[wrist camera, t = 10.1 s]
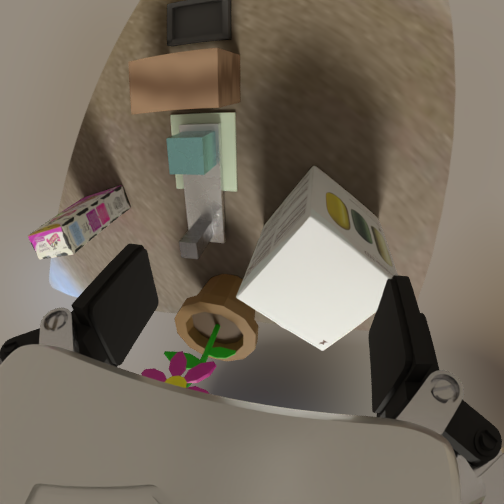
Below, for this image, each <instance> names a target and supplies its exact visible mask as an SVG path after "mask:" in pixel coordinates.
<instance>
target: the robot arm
mask: <svg viewBox="0 0 504 504" xmlns="http://www.w3.org/2000/svg"><path fill="white" fill-rule="evenodd" d="M157 306H158V296H157V292H156V288H155V284H154V280H153V275H152V271H151V267H150V262H149V258H148V253H147V250H146V249H144V247H143V246H142V245H137V244H128V245H127V246H126V247H125V248H124V249H123V250H122V251H121V252H120V253H119V254H118V255H117V256H116V257H115V258H114V259H113V260H112V261H111V262H110V263H109V264H108V265H107V266H106V267H105V269H104V270H103V271H102V272H101V273H100V274H99V275H98V276H97V277H96V278H95V279H94V280H93V281H92V283H91V284H90V285H89V286H88V287H87V288H86V289H85V290H84V291H83V293H82V294H81V295H80V296H79V297H78V298H77V299H76V300H75V302H74V303H73V304H72V307H73V311H72V312H70V311H69V310H68V309H66V308H57V309H54V310H51V311H50V312H48V313H47V314H46V315H45V316H44V317H43V319H42V320H41V325H40V328H39V329H36V330H33V331H31V332H28V333H25V334H22V335H19V336H16V337H13V338H11V339H9V340H7V341H6V342H5V343H4V345H3V346H2V348H1V350H0V504H504V453H503V454H502V452H501V450H500V449H501V444H502V440H501V435H500V433H499V431H498V429H497V428H496V427H495V426H494V425H492V424H491V423H490V422H489V421H488V420H486V419H485V418H484V417H483V416H482V415H480V414H479V413H478V412H477V411H475V410H474V409H473V408H472V407H470V406H469V405H468V404H467V403H466V402H464V401H463V400H462V398H463V395H464V389H463V385H462V383H461V381H460V380H459V378H458V377H457V376H456V375H454V374H453V373H451V372H449V371H445V370H439V367H438V363H437V359H436V354H435V350H434V346H433V342H432V338H431V335H430V331H429V327H428V324H427V321H426V317H425V315H424V314H423V313H420V311H419V308H418V305H417V301H416V298H415V295H414V292H413V288H412V285H411V282H410V279H409V277H407V276H398V275H394V276H393V277H392V279H388V280H387V282H386V285H385V288H384V291H383V294H382V297H381V300H380V303H379V306H378V309H377V312H376V314H375V317H374V320H373V323H372V325H371V328H370V331H369V348H370V362H371V379H372V381H371V382H372V410H373V412H374V413H377V417H368V416H355V415H343V414H332V413H322V412H313V411H304V410H295V409H288V408H281V407H275V406H268V405H262V404H256V403H250V402H245V401H240V400H235V399H230V398H225V397H221V396H216V395H212V394H207V393H203V392H199V391H195V390H191V389H187V388H183V387H179V386H176V385H172V384H169V383H165V382H162V381H158V380H155V379H151V378H148V377H145V376H142V375H139V374H135V373H132V372H129V371H126V370H123V369H120V368H117V366H118V365H121V364H122V362H123V361H124V359H125V357H126V356H127V354H128V353H129V351H130V349H131V348H132V346H133V344H134V343H135V341H136V340H137V338H138V336H139V335H140V333H141V332H142V330H143V328H144V327H145V325H146V324H147V322H148V321H149V319H150V318H151V316H152V314H153V313H154V311H155V310H156V308H157Z"/></svg>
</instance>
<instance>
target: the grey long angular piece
mask: <svg viewBox="0 0 504 504" xmlns="http://www.w3.org/2000/svg"><path fill="white" fill-rule="evenodd" d="M167 150H168V161H169V171H170V174H183V183H184V193H185V203H186V212H187V221H188V229H189V230H188V231H187V233H186V234H185V235H184V236H183V238H182V239H181V240H180V241H179V244H180V251H181V257H183V258H191V259H199V257H200V256H201V254H202V252H203V251H204V249H205V248H206V246H207V245H208V243H209V242H217V243H224V242H225V241H226V235H225V217H224V196H223V174H222V149H221V123H197V124H181V125H179V133H178V134H176V135H173V136H171V137H169V138H167Z"/></svg>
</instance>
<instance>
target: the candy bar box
mask: <svg viewBox="0 0 504 504" xmlns="http://www.w3.org/2000/svg"><path fill="white" fill-rule="evenodd" d="M129 209H130V205H129V202H128V200H127V197H126V194H125V191H124V188H123V186H122V185H120V186H117V187H114V188H111V189H108V190H105V191H102V192H99V193H96V194H93V195H90V196H87V197H84V198H82V199H81V200H79V201H78V202H76V203H75V204H73V205H71V206H70V207H68V208H67V209H65V210H64V211H62V212H61V213H60V214H58V215H57V216H55V217H54V218H52V219H51V220H49V221H48V222H46V223H45V224H44V225H42V226H41V227H39V228H38V229H37V230H35V231H34V232H32V233H31V234H30V235H28V237H29V240H30V242H31V244H32V246H33V248H34V250H35V252H36V254H37V256H38V258H39V259H45V258H53V257H60V256H66V255H73V254H75V253H76V252H77V251H78V250H79V249H80V248H81V247H83V246H84V245H85V244H86V243H87V242H88V241H90V240H91V239H92V238H93V237H94V236H96V235H97V234H98V233H99V232H101V231H102V230H103V229H104V228H106V227H107V226H108V225H109V224H110V223H112V222H113V221H114V220H116V219H117V218H118V217H119V216H121V215H122V214H123V213H125V212H126V211H127V210H129Z"/></svg>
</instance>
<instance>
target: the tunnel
mask: <svg viewBox="0 0 504 504" xmlns="http://www.w3.org/2000/svg"><path fill="white" fill-rule="evenodd" d="M129 83H130V99H131V112H132V114H140V113H148V112H158V111H168V110H181V109H197V108H219V107H223V106H227V105H231V104H235V103H239V102H240V55H238V54H235V53H232V52H229V51H226V50H223V49H220V48H210V49H200V50H192V51H184V52H177V53H171V54H165V55H159V56H154V57H149V58H144V59H139V60H134V61H130V62H129Z"/></svg>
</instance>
